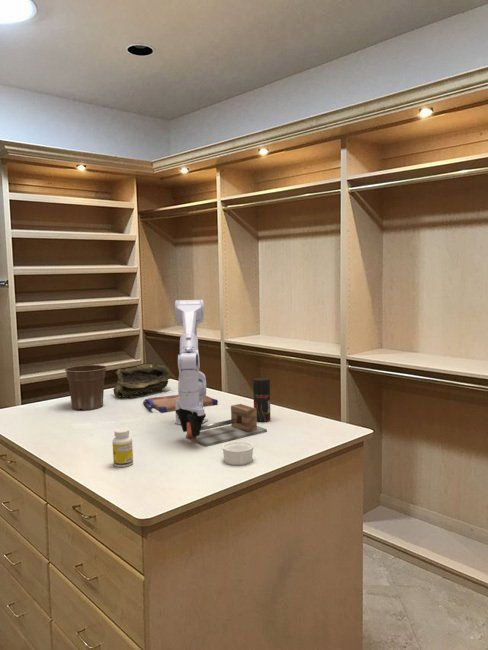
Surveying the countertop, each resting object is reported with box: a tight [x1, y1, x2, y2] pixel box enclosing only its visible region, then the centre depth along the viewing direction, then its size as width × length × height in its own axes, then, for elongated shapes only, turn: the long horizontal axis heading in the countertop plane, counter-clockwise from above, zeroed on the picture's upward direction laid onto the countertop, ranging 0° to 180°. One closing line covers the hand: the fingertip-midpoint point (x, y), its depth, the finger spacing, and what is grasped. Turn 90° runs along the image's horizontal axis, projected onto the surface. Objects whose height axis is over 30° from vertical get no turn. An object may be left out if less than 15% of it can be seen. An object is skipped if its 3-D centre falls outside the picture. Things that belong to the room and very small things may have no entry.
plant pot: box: [64, 364, 108, 411], centre depth 217 cm, size 16×16×16 cm
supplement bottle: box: [112, 427, 134, 468], centre depth 150 cm, size 5×5×10 cm
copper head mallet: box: [186, 418, 236, 440], centre depth 173 cm, size 18×3×5 cm, turn 126°
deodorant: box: [252, 377, 272, 423], centre depth 192 cm, size 6×6×15 cm
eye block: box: [185, 403, 268, 447], centre depth 176 cm, size 24×12×8 cm, turn 126°
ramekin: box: [221, 440, 255, 466], centre depth 152 cm, size 9×9×4 cm
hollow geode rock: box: [112, 362, 173, 398], centre depth 242 cm, size 28×13×15 cm
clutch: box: [142, 394, 219, 414], centre depth 219 cm, size 28×5×19 cm
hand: (191, 433), depth 168 cm, fingers open, 6 cm apart
